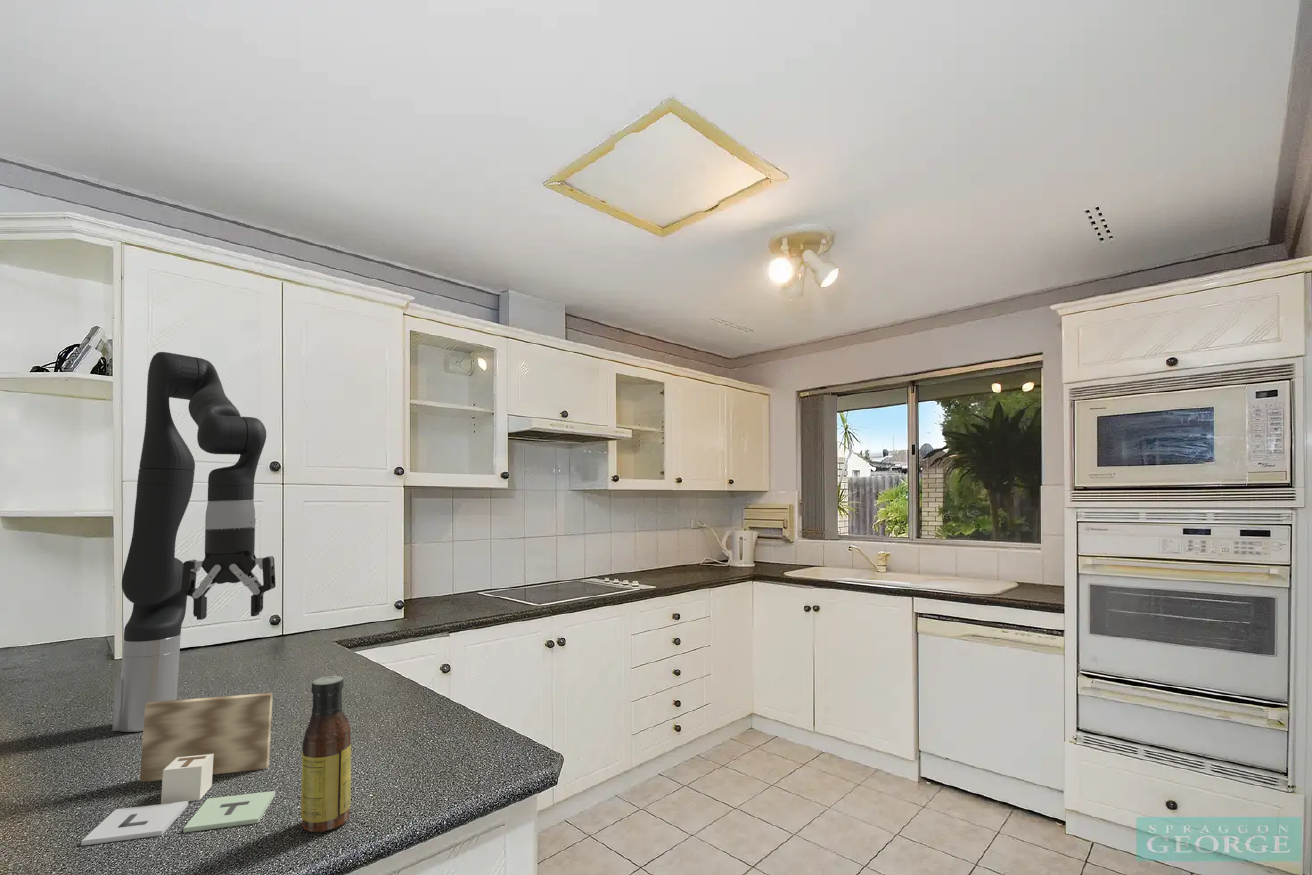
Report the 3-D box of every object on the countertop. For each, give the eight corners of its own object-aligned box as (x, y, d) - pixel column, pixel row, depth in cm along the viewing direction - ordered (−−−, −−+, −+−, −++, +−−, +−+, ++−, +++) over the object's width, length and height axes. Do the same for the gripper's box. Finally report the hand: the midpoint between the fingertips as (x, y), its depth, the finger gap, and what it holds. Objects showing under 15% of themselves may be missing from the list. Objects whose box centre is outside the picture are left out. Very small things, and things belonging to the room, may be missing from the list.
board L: (80, 845, 85) (81, 839, 85) (115, 813, 94) (116, 808, 94) (161, 835, 88) (161, 829, 88) (188, 805, 96) (188, 800, 96)
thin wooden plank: (139, 782, 104) (145, 704, 105) (144, 778, 106) (149, 702, 107) (266, 768, 109) (270, 695, 110) (269, 765, 111) (272, 692, 112)
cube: (160, 805, 97) (163, 769, 97) (174, 790, 101) (176, 756, 102) (199, 800, 98) (201, 765, 99) (211, 786, 103) (213, 752, 103)
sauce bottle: (335, 808, 95) (341, 669, 97) (359, 820, 92) (364, 676, 94) (289, 827, 90) (296, 680, 92) (312, 841, 86) (319, 687, 88)
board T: (183, 832, 89) (183, 827, 89) (207, 802, 97) (207, 797, 97) (257, 823, 91) (258, 817, 91) (275, 794, 100) (275, 790, 100)
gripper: (175, 528, 112) (172, 624, 111) (266, 525, 115) (265, 618, 114) (195, 526, 119) (193, 616, 118) (281, 523, 122) (279, 610, 121)
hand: (228, 617), depth 116 cm, fingers open, 8 cm apart
